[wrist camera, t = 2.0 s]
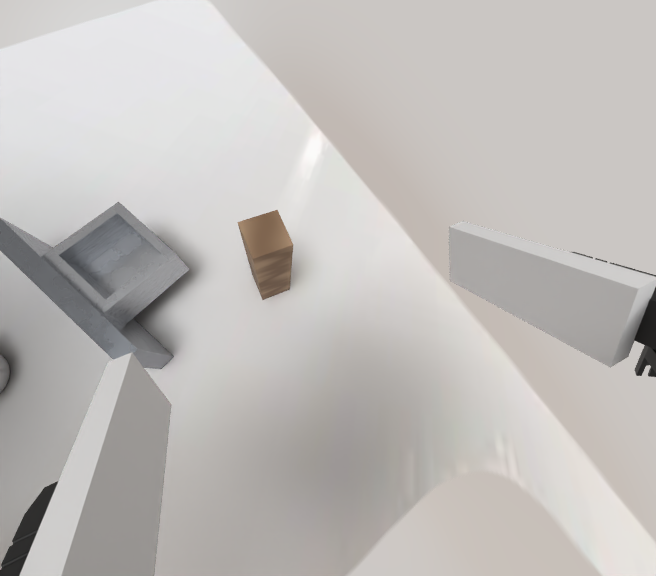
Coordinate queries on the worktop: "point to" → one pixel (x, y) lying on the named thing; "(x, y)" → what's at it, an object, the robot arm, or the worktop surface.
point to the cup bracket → (102, 278)
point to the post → (268, 252)
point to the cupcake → (3, 372)
